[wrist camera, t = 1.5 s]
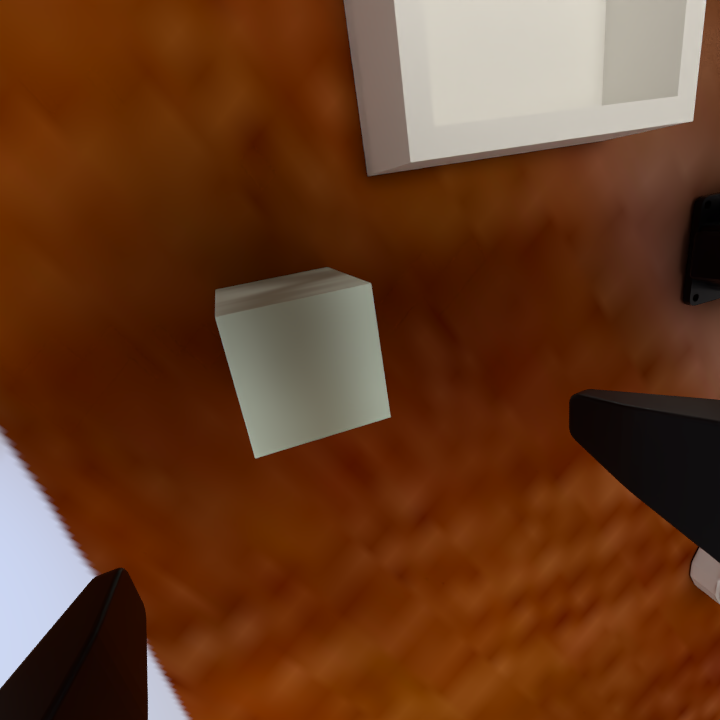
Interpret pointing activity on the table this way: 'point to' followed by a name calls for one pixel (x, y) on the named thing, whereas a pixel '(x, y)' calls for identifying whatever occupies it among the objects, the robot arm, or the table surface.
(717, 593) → the white cup
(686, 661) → the table surface
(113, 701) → the robot arm
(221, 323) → the mint block
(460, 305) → the table surface
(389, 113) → the bin
